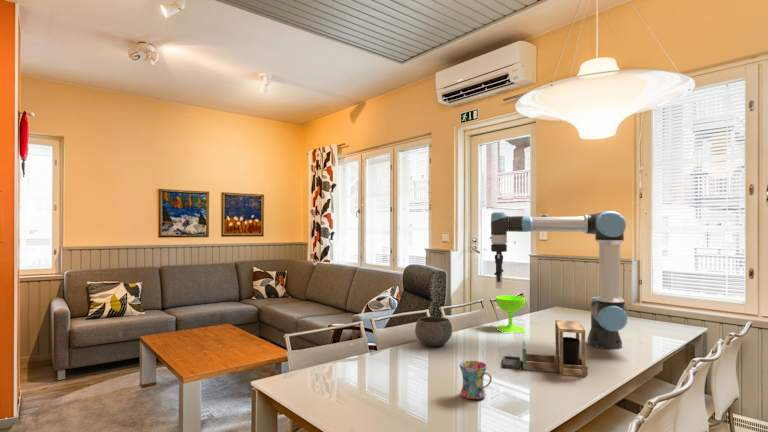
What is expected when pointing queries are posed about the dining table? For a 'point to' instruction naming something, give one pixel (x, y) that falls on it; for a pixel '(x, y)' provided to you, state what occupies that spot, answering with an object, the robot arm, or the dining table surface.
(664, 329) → the dining table surface
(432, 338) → the bowl
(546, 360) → the sled
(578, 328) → the brown wooden frame
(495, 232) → the robot arm
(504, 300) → the wineglass
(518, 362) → the tray
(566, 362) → the cup
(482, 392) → the mug
